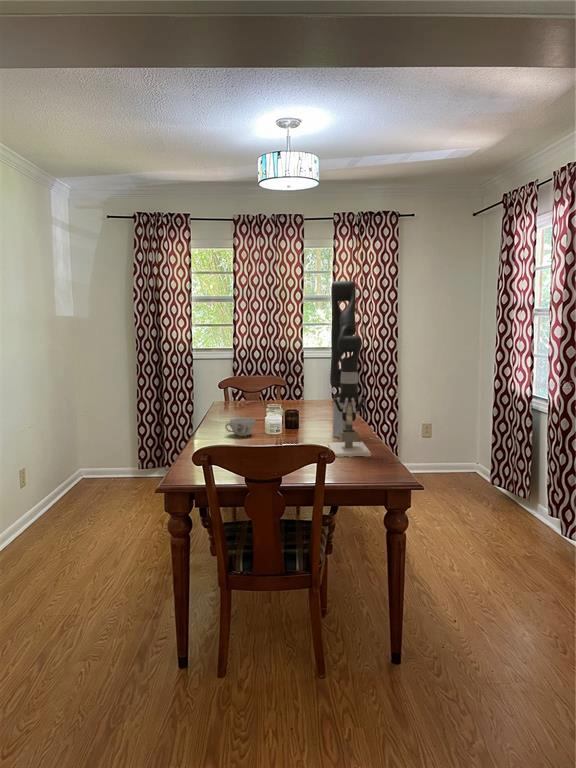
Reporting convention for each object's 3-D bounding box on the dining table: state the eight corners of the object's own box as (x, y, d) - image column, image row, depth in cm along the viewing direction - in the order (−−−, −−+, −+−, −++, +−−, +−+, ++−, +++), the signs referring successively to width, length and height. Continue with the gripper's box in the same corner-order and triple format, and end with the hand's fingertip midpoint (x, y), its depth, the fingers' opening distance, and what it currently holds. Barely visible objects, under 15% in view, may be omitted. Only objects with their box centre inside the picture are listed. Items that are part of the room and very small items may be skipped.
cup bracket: (327, 445, 267) (327, 426, 266) (362, 445, 268) (362, 425, 267) (333, 457, 247) (333, 436, 246) (371, 456, 248) (371, 435, 247)
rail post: (344, 428, 258) (344, 401, 256) (351, 428, 258) (352, 401, 256) (345, 429, 254) (346, 402, 253) (353, 429, 255) (353, 402, 253)
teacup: (251, 431, 297) (251, 416, 296) (258, 437, 285) (258, 420, 284) (222, 434, 292) (222, 418, 291) (228, 439, 280) (228, 423, 279)
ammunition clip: (275, 469, 230) (275, 439, 228) (273, 467, 232) (273, 438, 230) (299, 465, 235) (299, 436, 233) (297, 464, 236) (297, 435, 235)
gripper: (363, 380, 257) (363, 419, 260) (332, 380, 257) (331, 419, 259) (366, 382, 250) (366, 422, 252) (334, 383, 249) (334, 422, 252)
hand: (348, 420), depth 256 cm, fingers closed on rail post, 3 cm apart
